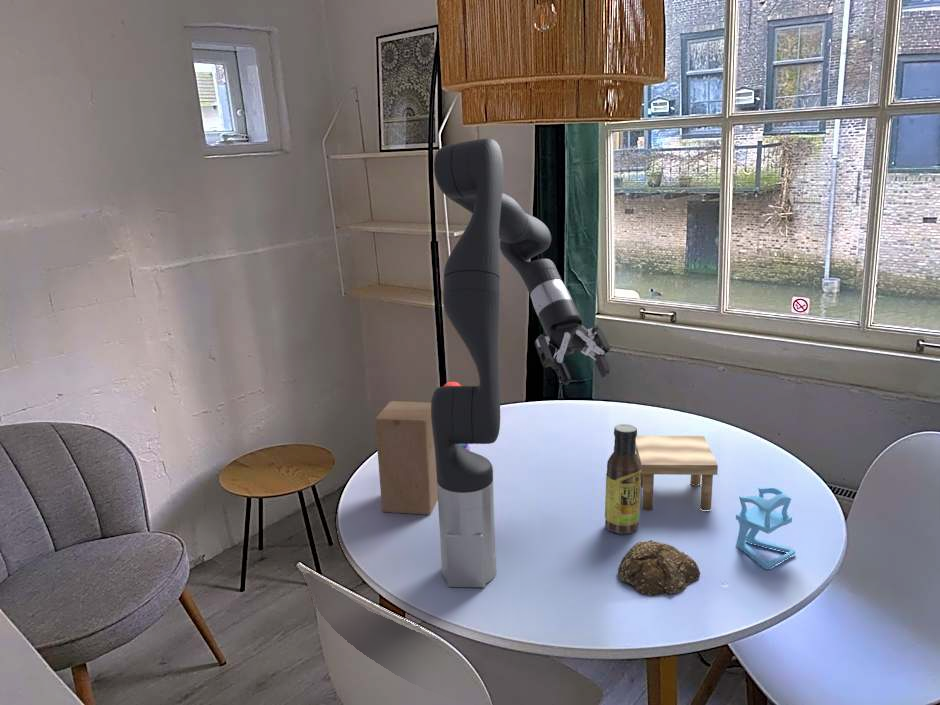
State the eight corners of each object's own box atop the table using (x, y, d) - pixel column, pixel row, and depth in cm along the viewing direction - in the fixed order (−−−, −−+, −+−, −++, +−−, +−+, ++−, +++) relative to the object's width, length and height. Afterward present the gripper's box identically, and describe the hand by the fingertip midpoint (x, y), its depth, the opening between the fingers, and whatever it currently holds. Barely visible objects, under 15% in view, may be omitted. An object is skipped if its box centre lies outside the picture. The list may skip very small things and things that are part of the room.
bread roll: (643, 547, 138) (644, 522, 137) (708, 572, 130) (709, 546, 129) (602, 578, 130) (602, 551, 128) (668, 607, 121) (669, 579, 120)
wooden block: (430, 516, 152) (424, 420, 146) (381, 512, 154) (374, 418, 148) (442, 492, 161) (437, 401, 156) (396, 489, 163) (389, 400, 158)
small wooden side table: (715, 513, 149) (717, 465, 146) (640, 512, 150) (641, 464, 147) (701, 480, 162) (703, 435, 159) (633, 479, 163) (634, 435, 161)
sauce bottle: (623, 540, 141) (625, 437, 135) (597, 526, 145) (598, 427, 140) (646, 528, 144) (649, 428, 139) (621, 515, 149) (623, 418, 143)
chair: (755, 536, 140) (758, 475, 137) (796, 555, 133) (801, 492, 130) (726, 550, 136) (730, 487, 133) (767, 571, 129) (772, 505, 126)
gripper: (530, 302, 148) (562, 376, 142) (593, 292, 154) (627, 363, 147) (517, 323, 154) (547, 395, 148) (578, 313, 160) (610, 381, 153)
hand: (587, 379), depth 148 cm, fingers open, 8 cm apart
